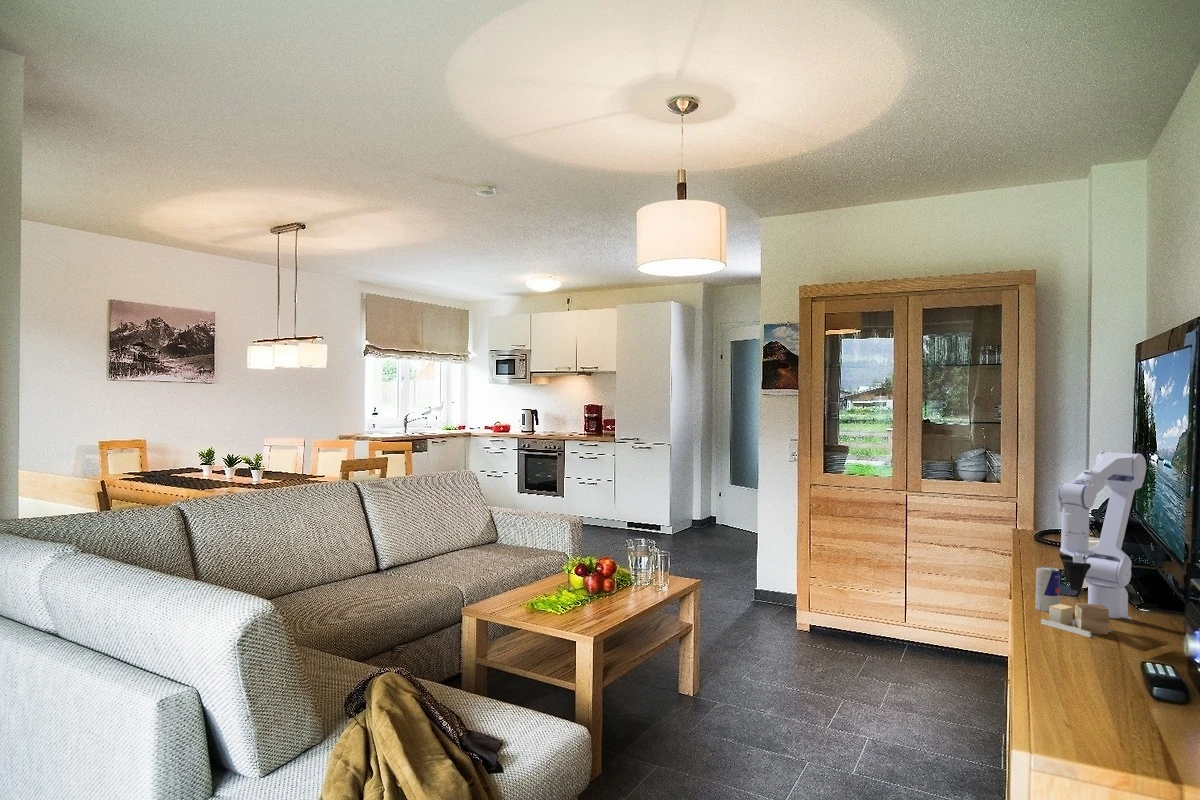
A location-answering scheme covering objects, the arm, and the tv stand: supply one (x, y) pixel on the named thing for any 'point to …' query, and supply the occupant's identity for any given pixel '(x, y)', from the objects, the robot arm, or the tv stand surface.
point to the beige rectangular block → (1061, 614)
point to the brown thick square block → (1092, 617)
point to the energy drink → (1047, 588)
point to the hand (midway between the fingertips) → (1073, 586)
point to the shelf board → (1069, 628)
